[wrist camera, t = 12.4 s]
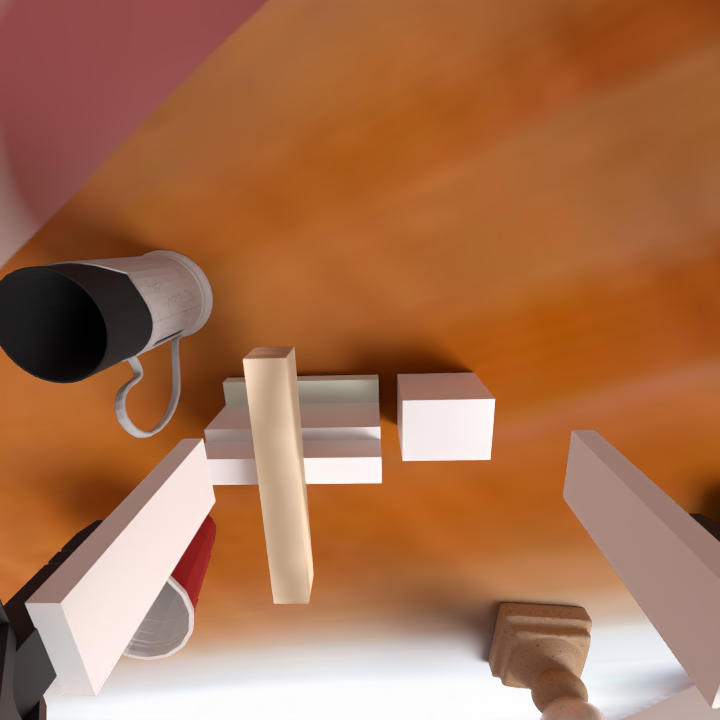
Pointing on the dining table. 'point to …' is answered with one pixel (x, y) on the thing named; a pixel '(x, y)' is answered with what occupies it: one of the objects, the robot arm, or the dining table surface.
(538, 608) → the candle holder
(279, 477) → the birch batten
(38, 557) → the dining table surface
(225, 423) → the ridge stand
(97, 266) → the glass holder
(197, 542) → the plastic cup
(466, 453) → the rest block
